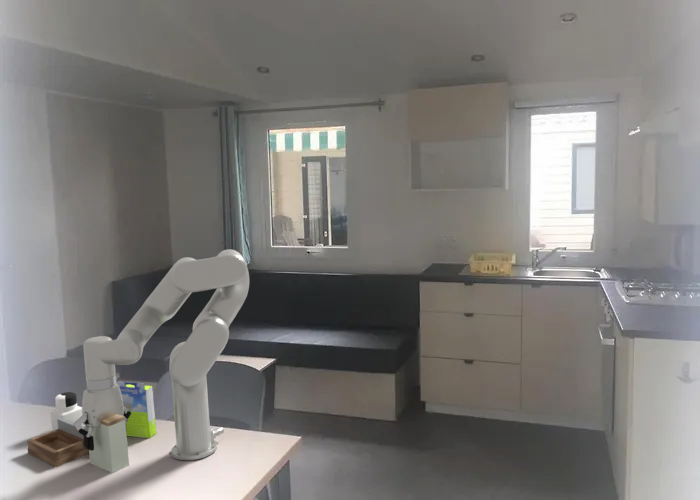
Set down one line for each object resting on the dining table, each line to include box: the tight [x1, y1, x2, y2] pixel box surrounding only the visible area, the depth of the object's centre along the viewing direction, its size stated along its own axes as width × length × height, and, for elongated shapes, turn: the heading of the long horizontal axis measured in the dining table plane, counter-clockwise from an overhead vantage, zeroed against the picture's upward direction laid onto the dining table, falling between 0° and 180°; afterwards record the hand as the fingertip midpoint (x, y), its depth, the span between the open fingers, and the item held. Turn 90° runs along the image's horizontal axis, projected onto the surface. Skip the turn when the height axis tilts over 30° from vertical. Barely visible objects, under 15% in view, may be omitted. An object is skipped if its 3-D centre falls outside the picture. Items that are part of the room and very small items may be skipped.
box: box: [116, 381, 157, 439], centre depth 187 cm, size 10×4×17 cm, turn 74°
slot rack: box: [26, 418, 89, 468], centre depth 177 cm, size 11×16×7 cm
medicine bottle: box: [50, 391, 85, 431], centre depth 192 cm, size 7×7×12 cm
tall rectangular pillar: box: [88, 414, 130, 474], centre depth 168 cm, size 5×11×14 cm, turn 53°
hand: (106, 442), depth 168 cm, fingers open, 9 cm apart
